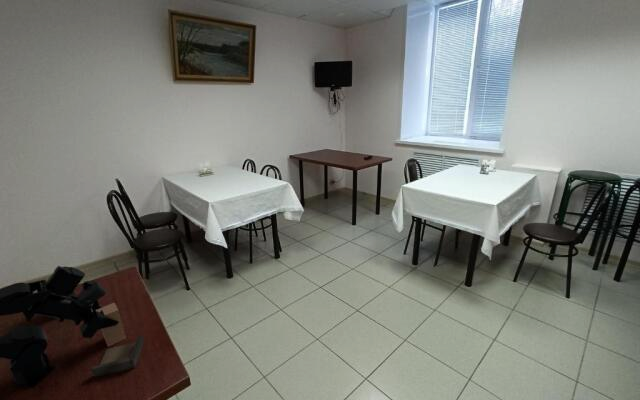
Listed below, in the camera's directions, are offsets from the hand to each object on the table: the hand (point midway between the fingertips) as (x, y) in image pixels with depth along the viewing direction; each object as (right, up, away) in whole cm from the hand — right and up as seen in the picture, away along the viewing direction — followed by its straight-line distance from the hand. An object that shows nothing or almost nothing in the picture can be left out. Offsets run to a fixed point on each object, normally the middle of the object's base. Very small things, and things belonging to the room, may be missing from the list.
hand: (115, 319), depth 94 cm
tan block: (-1, -7, +1) cm, 7 cm away
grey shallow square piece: (+5, -9, -6) cm, 12 cm away
